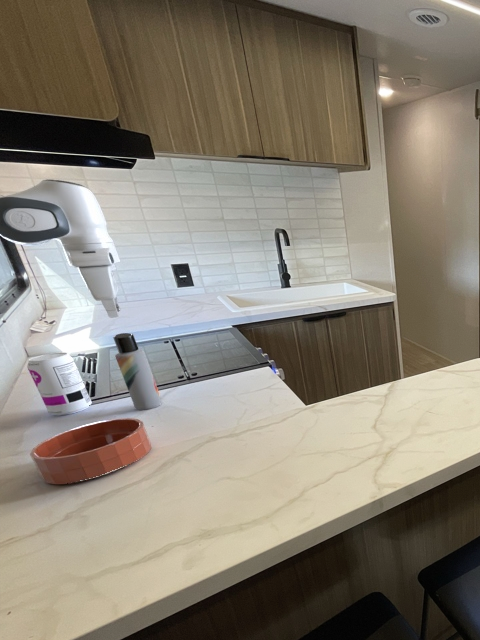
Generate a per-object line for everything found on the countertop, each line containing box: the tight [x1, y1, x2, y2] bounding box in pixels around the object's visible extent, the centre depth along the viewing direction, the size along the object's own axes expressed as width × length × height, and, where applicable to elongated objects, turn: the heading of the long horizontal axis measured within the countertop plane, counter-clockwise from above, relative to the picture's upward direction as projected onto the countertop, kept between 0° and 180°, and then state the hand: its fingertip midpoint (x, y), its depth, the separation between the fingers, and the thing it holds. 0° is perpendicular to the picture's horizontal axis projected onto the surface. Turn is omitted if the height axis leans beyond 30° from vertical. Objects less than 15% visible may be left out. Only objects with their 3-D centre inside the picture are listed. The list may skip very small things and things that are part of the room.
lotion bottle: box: [112, 332, 163, 411], centre depth 105 cm, size 6×6×20 cm
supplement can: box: [26, 352, 93, 416], centre depth 105 cm, size 8×8×15 cm
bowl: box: [29, 417, 152, 485], centre depth 81 cm, size 16×16×6 cm
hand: (115, 314), depth 100 cm, fingers open, 8 cm apart
